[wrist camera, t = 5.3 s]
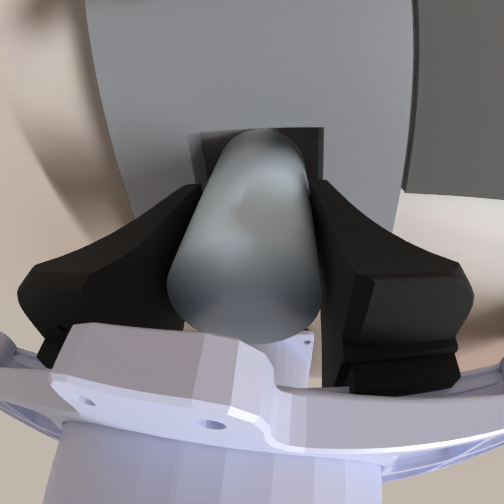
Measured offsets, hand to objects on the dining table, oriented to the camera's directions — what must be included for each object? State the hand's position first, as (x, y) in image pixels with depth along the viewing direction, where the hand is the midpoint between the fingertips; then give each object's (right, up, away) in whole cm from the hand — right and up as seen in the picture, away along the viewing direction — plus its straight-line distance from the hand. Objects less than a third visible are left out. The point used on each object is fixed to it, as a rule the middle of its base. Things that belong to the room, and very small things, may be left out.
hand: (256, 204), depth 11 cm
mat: (+13, +6, -2) cm, 14 cm away
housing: (0, +6, -1) cm, 6 cm away
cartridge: (0, +2, +2) cm, 3 cm away
